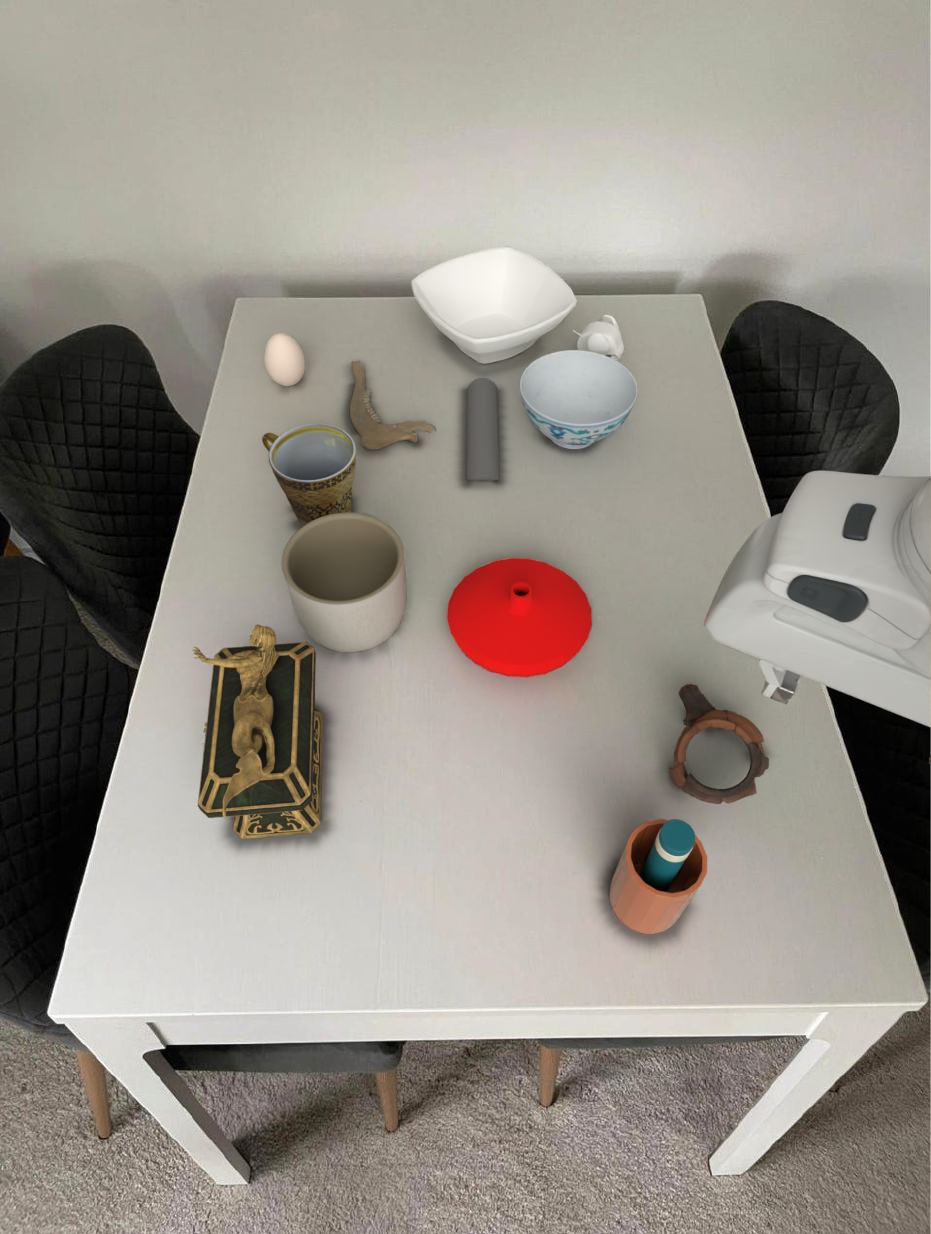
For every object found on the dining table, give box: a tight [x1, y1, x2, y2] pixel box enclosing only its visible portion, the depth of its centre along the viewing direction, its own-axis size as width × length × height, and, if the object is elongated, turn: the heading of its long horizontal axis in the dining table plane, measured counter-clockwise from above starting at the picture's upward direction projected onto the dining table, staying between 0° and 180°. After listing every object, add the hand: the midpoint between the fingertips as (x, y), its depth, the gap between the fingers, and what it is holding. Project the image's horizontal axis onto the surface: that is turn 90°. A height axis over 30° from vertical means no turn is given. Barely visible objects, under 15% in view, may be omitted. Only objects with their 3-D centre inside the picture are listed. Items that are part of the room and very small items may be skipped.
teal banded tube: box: [639, 818, 696, 892], centre depth 67 cm, size 3×3×14 cm
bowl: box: [410, 246, 578, 364], centre depth 119 cm, size 21×21×9 cm
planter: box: [281, 511, 408, 653], centre depth 88 cm, size 12×12×11 cm
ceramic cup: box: [261, 422, 357, 526], centre depth 99 cm, size 13×10×10 cm
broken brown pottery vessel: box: [669, 683, 770, 805], centre depth 80 cm, size 12×10×8 cm
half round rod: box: [465, 377, 500, 482], centre depth 110 cm, size 4×20×2 cm, turn 179°
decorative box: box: [192, 623, 323, 840], centre depth 72 cm, size 20×10×20 cm, turn 5°
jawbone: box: [349, 360, 437, 450], centre depth 113 cm, size 9×20×2 cm, turn 37°
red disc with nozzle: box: [446, 557, 593, 678], centre depth 88 cm, size 16×16×7 cm
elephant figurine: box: [572, 314, 626, 361], centre depth 118 cm, size 7×8×6 cm
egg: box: [263, 332, 306, 387], centre depth 114 cm, size 6×6×8 cm
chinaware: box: [519, 349, 639, 450], centre depth 108 cm, size 15×15×8 cm
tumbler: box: [609, 818, 708, 935], centre depth 70 cm, size 6×6×10 cm
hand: (857, 723), depth 47 cm, fingers open, 8 cm apart
